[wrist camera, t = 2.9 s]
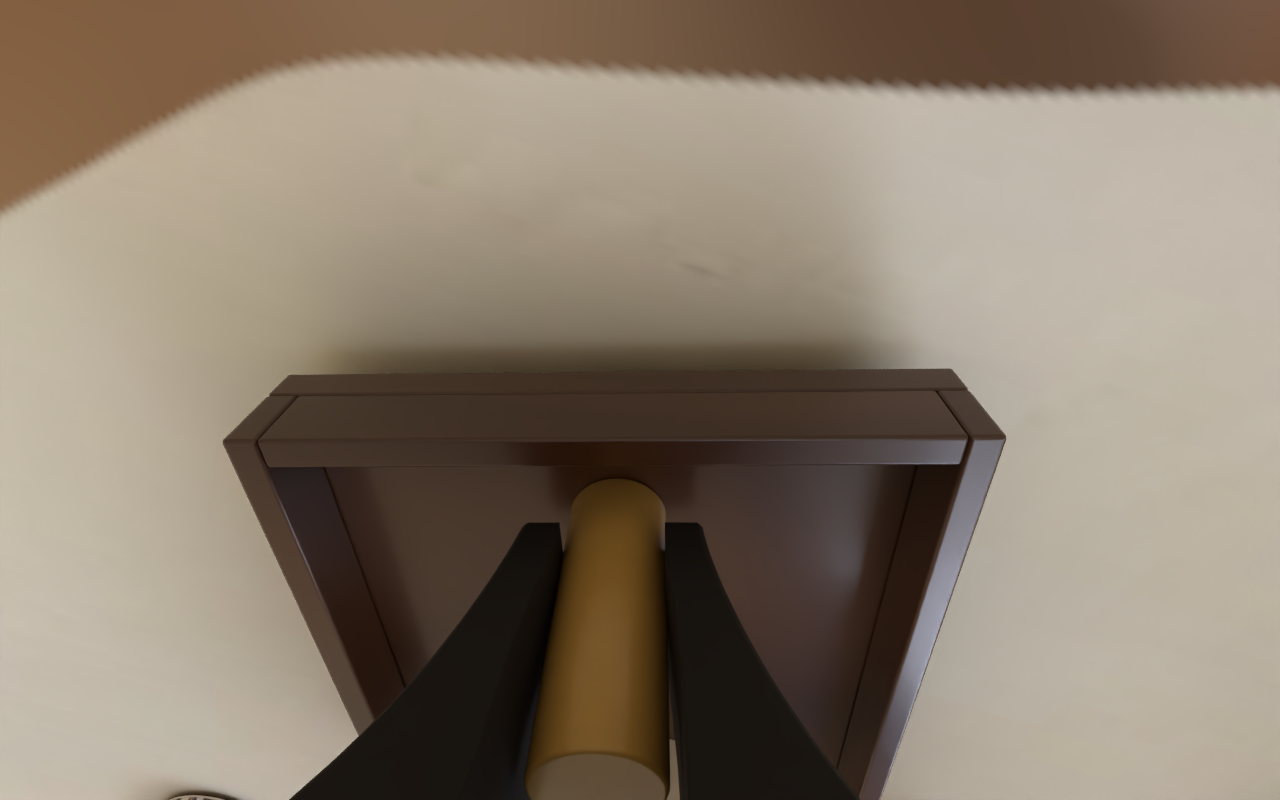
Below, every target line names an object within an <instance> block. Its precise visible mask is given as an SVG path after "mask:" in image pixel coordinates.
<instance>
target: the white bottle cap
mask: <svg viewBox="0 0 1280 800" xmlns="http://www.w3.org/2000/svg"><path fill="white" fill-rule="evenodd" d="M170 800H224V799H220V798H215V797H209V796H199V795H188V796H179V797H175V798H172V799H170Z"/></svg>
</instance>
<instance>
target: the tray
mask: <svg viewBox="0 0 1280 800" xmlns="http://www.w3.org/2000/svg"><path fill="white" fill-rule="evenodd" d="M1005 441H1006V435H1005V434H1004V433H1003V432H1002V430H1001V429H1000V428H999V427H998V425H997V424H996V423H995V422H994V420H993V419H992V418H991V417H990V416H989V414H988V413H987V412H986V411H985V409H984V408H983V407H982V406H981V405H980V403H979V402H978V401H977V400H976V398H975V397H974V396H973V395H972V394H971V392H969V391H968V390H967V387H966V386H965V385H964V383H963V382H962V381H961V380H960V378H959V377H958V376H957V375H956V374H955V372H954V371H953V370H952V369H861V370H755V371H649V372H544V373H438V374H332V375H289V376H287V377H286V378H285V379H284V380H283V381H282V382H281V383H280V384H279V385H278V386H277V387H276V388H275V389H274V390H273V391H272V392H271V393H270V396H269V397H267V398H265V399H264V400H263V401H262V402H261V403H260V404H259V405H258V406H257V407H256V408H255V409H254V410H253V411H252V412H251V413H250V414H249V415H248V416H247V417H246V418H245V419H244V420H243V421H242V422H241V423H240V424H239V425H238V426H237V427H236V428H235V429H234V430H233V431H232V432H231V433H230V434H229V435H228V436H227V437H226V438H225V439H224V440H223V445H224V447H225V449H226V451H227V454H228V456H229V458H230V460H231V462H232V464H233V467H234V469H235V471H236V473H237V475H238V477H239V479H240V482H241V484H242V486H243V488H244V490H245V492H246V494H247V497H248V499H249V501H250V503H251V505H252V507H253V510H254V512H255V514H256V516H257V518H258V520H259V522H260V525H261V527H262V529H263V531H264V533H265V535H266V538H267V540H268V542H269V544H270V546H271V548H272V550H273V553H274V555H275V557H276V559H277V561H278V563H279V565H280V568H281V570H282V572H283V574H284V576H285V578H286V581H287V583H288V585H289V587H290V589H291V591H292V593H293V596H294V598H295V600H296V602H297V604H298V606H299V609H300V611H301V613H302V615H303V617H304V619H305V621H306V624H307V626H308V628H309V630H310V632H311V634H312V637H313V639H314V641H315V643H316V645H317V647H318V649H319V652H320V654H321V656H322V658H323V660H324V662H325V664H326V667H327V669H328V671H329V673H330V675H331V677H332V680H333V682H334V684H335V686H336V688H337V690H338V692H339V695H340V697H341V699H342V701H343V703H344V705H345V708H346V710H347V712H348V714H349V716H350V718H351V720H352V723H353V725H354V727H355V729H356V731H357V733H358V735H359V736H360V735H361V734H362V732H363V731H364V730H365V729H366V728H367V727H368V726H369V725H370V724H371V723H372V722H373V721H374V720H375V719H376V718H377V717H378V716H379V715H380V714H381V713H382V712H383V711H384V710H385V709H386V708H387V707H388V706H389V705H390V704H391V703H392V702H393V701H394V700H395V699H396V697H397V696H398V695H399V694H400V693H401V692H402V691H403V690H404V689H405V688H406V686H407V685H408V684H409V683H410V682H411V681H412V680H413V679H414V678H415V676H416V675H417V674H418V673H419V672H420V671H421V669H422V668H423V667H424V666H425V665H426V664H427V662H428V661H429V660H430V659H431V658H432V656H433V655H434V654H435V653H436V652H437V650H438V649H439V648H440V646H441V645H442V644H443V643H444V641H445V640H446V639H447V637H448V636H449V635H450V634H451V632H452V631H453V630H454V629H455V627H456V626H457V625H458V623H459V622H460V621H461V620H462V618H463V617H464V616H465V614H466V613H467V612H468V610H469V609H470V607H471V606H472V604H473V603H474V602H475V600H476V599H477V597H478V596H479V594H480V593H481V592H482V590H483V589H484V587H485V586H486V585H487V583H488V582H489V580H490V579H491V577H492V576H493V574H494V573H495V571H496V570H497V568H498V566H499V565H500V563H501V562H502V560H503V559H504V557H505V556H506V554H507V552H508V551H509V549H510V547H511V546H512V544H513V542H514V541H515V539H516V537H517V536H518V534H519V532H520V530H521V529H522V527H523V526H524V525H525V524H526V523H558V522H559V524H560V532H561V540H562V548H563V557H562V563H561V568H560V574H559V580H558V586H557V591H556V597H555V603H554V608H553V614H552V620H551V625H550V631H549V637H548V642H547V648H546V654H545V659H544V665H543V671H542V677H541V682H540V688H539V694H538V699H537V705H536V711H535V716H534V722H533V728H532V733H531V739H530V745H529V751H528V756H527V762H526V768H525V773H524V786H525V790H526V793H527V795H528V797H529V798H530V799H531V800H667V797H668V795H669V792H670V739H672V740H675V737H674V727H673V717H672V708H671V698H670V688H669V664H668V618H667V606H666V595H665V522H697V523H699V524H700V525H701V526H702V527H703V530H704V535H705V539H706V542H707V546H708V549H709V552H710V554H711V557H712V560H713V563H714V565H715V568H716V570H717V573H718V575H719V578H720V580H721V582H722V584H723V587H724V589H725V591H726V593H727V595H728V598H729V600H730V602H731V604H732V606H733V608H734V610H735V612H736V614H737V616H738V618H739V620H740V622H741V624H742V626H743V628H744V630H745V632H746V633H747V635H748V637H749V639H750V641H751V643H752V644H753V646H754V648H755V650H756V651H757V653H758V655H759V657H760V658H761V660H762V662H763V664H764V665H765V667H766V669H767V670H768V672H769V674H770V675H771V677H772V678H773V680H774V682H775V683H776V685H777V686H778V688H779V690H780V691H781V693H782V694H783V696H784V697H785V699H786V700H787V702H788V703H789V705H790V706H791V708H792V709H793V711H794V712H795V714H796V715H797V716H798V718H799V719H800V721H801V722H802V724H803V725H804V726H805V728H806V729H807V731H808V732H809V734H810V735H811V736H812V738H813V739H814V741H815V742H816V743H817V745H818V746H819V747H820V748H821V750H822V751H823V752H824V754H825V755H826V756H827V757H828V759H829V760H830V761H831V763H832V764H833V765H834V766H835V768H836V769H837V770H838V772H839V773H840V774H841V775H842V777H843V778H844V779H845V781H846V782H847V783H848V784H849V786H850V787H851V788H852V790H853V791H854V792H855V793H856V795H857V796H858V797H859V798H860V799H861V800H881V797H882V794H883V791H884V788H885V785H886V783H887V780H888V777H889V774H890V771H891V768H892V765H893V763H894V760H895V757H896V754H897V751H898V748H899V745H900V742H901V740H902V737H903V734H904V731H905V728H906V725H907V722H908V720H909V717H910V714H911V711H912V708H913V705H914V702H915V699H916V697H917V694H918V691H919V688H920V685H921V682H922V679H923V676H924V674H925V671H926V668H927V665H928V662H929V659H930V656H931V654H932V651H933V648H934V645H935V642H936V639H937V636H938V633H939V631H940V628H941V625H942V622H943V619H944V616H945V613H946V610H947V608H948V605H949V602H950V599H951V596H952V593H953V590H954V588H955V585H956V582H957V579H958V576H959V573H960V570H961V567H962V565H963V562H964V559H965V556H966V553H967V550H968V547H969V545H970V542H971V539H972V536H973V533H974V530H975V527H976V524H977V522H978V519H979V516H980V513H981V510H982V507H983V504H984V501H985V499H986V496H987V493H988V490H989V487H990V484H991V481H992V479H993V476H994V473H995V470H996V467H997V464H998V461H999V458H1000V456H1001V453H1002V450H1003V447H1004V444H1005Z"/></svg>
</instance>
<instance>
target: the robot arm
mask: <svg viewBox="0 0 1280 800" xmlns="http://www.w3.org/2000/svg"><path fill="white" fill-rule="evenodd" d="M562 557H563V548H562V540H561V532H560V524H559V522H558V523H526V524H525V525H524V526H523V527H522V529H521V530H520V532H519V534H518V536H517V537H516V539H515V541H514V542H513V544H512V546H511V547H510V549H509V551H508V552H507V554H506V556H505V557H504V559H503V560H502V562H501V563H500V565H499V566H498V568H497V570H496V571H495V573H494V574H493V576H492V577H491V579H490V580H489V582H488V583H487V585H486V586H485V587H484V589H483V590H482V592H481V593H480V594H479V596H478V597H477V599H476V600H475V602H474V603H473V604H472V606H471V607H470V609H469V610H468V612H467V613H466V614H465V616H464V617H463V618H462V620H461V621H460V622H459V623H458V625H457V626H456V627H455V629H454V630H453V631H452V632H451V634H450V635H449V636H448V637H447V639H446V640H445V641H444V643H443V644H442V645H441V646H440V648H439V649H438V650H437V652H436V653H435V654H434V655H433V656H432V658H431V659H430V660H429V661H428V662H427V664H426V665H425V666H424V667H423V668H422V669H421V671H420V672H419V673H418V674H417V675H416V676H415V678H414V679H413V680H412V681H411V682H410V683H409V684H408V685H407V686H406V688H405V689H404V690H403V691H402V692H401V693H400V694H399V695H398V696H397V697H396V699H395V700H394V701H393V702H392V703H391V704H390V705H389V706H388V707H387V708H386V709H385V710H384V711H383V712H382V713H381V714H380V715H379V716H378V717H377V718H376V719H375V720H374V721H373V722H372V723H371V724H370V725H369V726H368V727H367V728H366V729H365V730H364V731H363V732H362V734H361V735H360V736H359V737H358V738H357V739H355V740H354V741H353V742H352V743H351V744H350V745H349V746H348V747H347V748H346V749H345V750H344V751H343V752H342V753H341V754H340V755H339V756H338V757H337V758H336V759H335V760H333V761H332V762H331V763H330V764H329V765H328V766H327V767H326V768H324V769H323V770H322V771H321V772H320V773H319V774H318V775H316V776H315V777H314V778H313V779H312V780H311V781H310V782H309V783H307V784H306V785H305V786H304V787H303V788H302V789H301V790H300V791H298V792H297V793H296V794H295V795H294V796H293V797H292V798H291V799H289V800H531V799H530V798H529V797H528V795H527V793H526V790H525V786H524V773H525V768H526V762H527V756H528V751H529V745H530V739H531V733H532V728H533V722H534V716H535V711H536V705H537V699H538V694H539V688H540V682H541V677H542V671H543V665H544V659H545V654H546V648H547V642H548V637H549V631H550V625H551V620H552V614H553V608H554V603H555V597H556V591H557V586H558V580H559V574H560V568H561V563H562ZM665 595H666V606H667V618H668V664H669V688H670V698H671V708H672V717H673V727H674V737H675V746H676V756H677V766H678V779H679V794H680V800H861V799H860V798H859V797H858V796H857V795H856V793H855V792H854V791H853V790H852V788H851V787H850V786H849V784H848V783H847V782H846V781H845V779H844V778H843V777H842V775H841V774H840V773H839V772H838V770H837V769H836V768H835V766H834V765H833V764H832V763H831V761H830V760H829V759H828V757H827V756H826V755H825V754H824V752H823V751H822V750H821V748H820V747H819V746H818V745H817V743H816V742H815V741H814V739H813V738H812V736H811V735H810V734H809V732H808V731H807V729H806V728H805V726H804V725H803V724H802V722H801V721H800V719H799V718H798V716H797V715H796V714H795V712H794V711H793V709H792V708H791V706H790V705H789V703H788V702H787V700H786V699H785V697H784V696H783V694H782V693H781V691H780V690H779V688H778V686H777V685H776V683H775V682H774V680H773V678H772V677H771V675H770V674H769V672H768V670H767V669H766V667H765V665H764V664H763V662H762V660H761V658H760V657H759V655H758V653H757V651H756V650H755V648H754V646H753V644H752V643H751V641H750V639H749V637H748V635H747V633H746V632H745V630H744V628H743V626H742V624H741V622H740V620H739V618H738V616H737V614H736V612H735V610H734V608H733V606H732V604H731V602H730V600H729V598H728V595H727V593H726V591H725V589H724V587H723V584H722V582H721V580H720V578H719V575H718V573H717V570H716V568H715V565H714V563H713V560H712V557H711V554H710V552H709V549H708V546H707V542H706V539H705V535H704V530H703V527H702V526H701V525H700V524H699V523H697V522H665Z"/></svg>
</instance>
